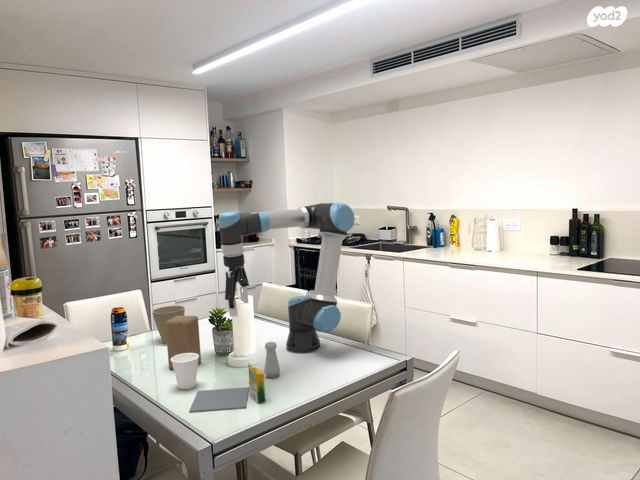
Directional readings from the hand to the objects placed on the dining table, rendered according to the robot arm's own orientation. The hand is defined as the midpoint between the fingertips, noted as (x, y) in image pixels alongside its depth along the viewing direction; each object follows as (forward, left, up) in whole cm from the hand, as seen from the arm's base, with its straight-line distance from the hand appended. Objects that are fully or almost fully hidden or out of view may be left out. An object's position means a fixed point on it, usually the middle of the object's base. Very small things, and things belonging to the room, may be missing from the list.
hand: (239, 309), depth 180 cm
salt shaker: (-11, +2, -26) cm, 28 cm away
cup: (+20, +6, -26) cm, 34 cm away
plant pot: (+39, -52, -26) cm, 70 cm away
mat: (+6, +20, -26) cm, 33 cm away
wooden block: (+25, -16, -26) cm, 40 cm away
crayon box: (-6, +21, -26) cm, 34 cm away
